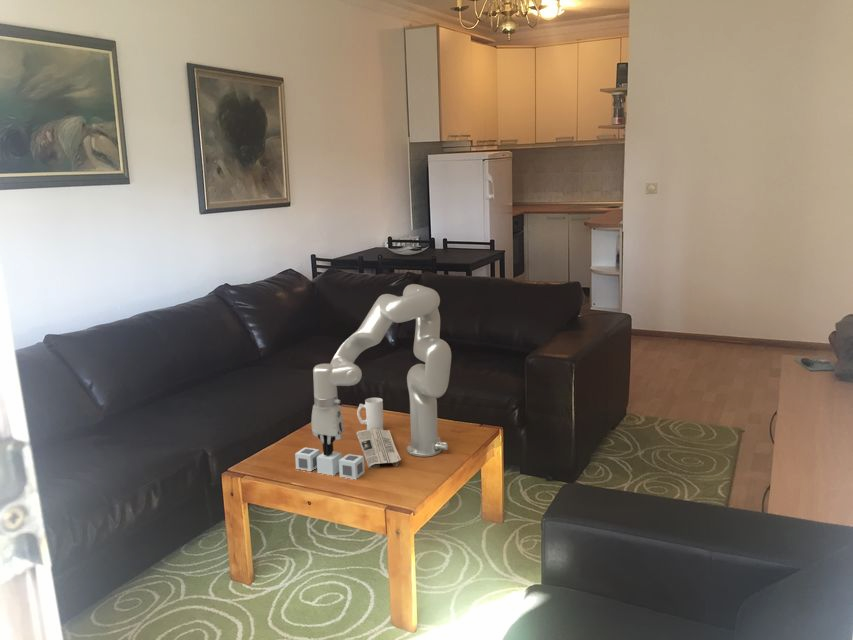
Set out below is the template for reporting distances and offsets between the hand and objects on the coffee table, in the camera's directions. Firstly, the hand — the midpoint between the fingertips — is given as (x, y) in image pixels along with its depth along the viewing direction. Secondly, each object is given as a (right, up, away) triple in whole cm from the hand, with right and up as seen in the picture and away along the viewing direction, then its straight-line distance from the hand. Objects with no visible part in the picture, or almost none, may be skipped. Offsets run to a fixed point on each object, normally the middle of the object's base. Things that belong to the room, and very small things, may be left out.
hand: (328, 453), depth 246 cm
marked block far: (-7, -6, +5) cm, 11 cm away
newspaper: (+16, -3, +19) cm, 25 cm away
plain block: (0, -6, +1) cm, 6 cm away
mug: (+11, +2, +39) cm, 41 cm away
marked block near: (+8, -7, -2) cm, 11 cm away
